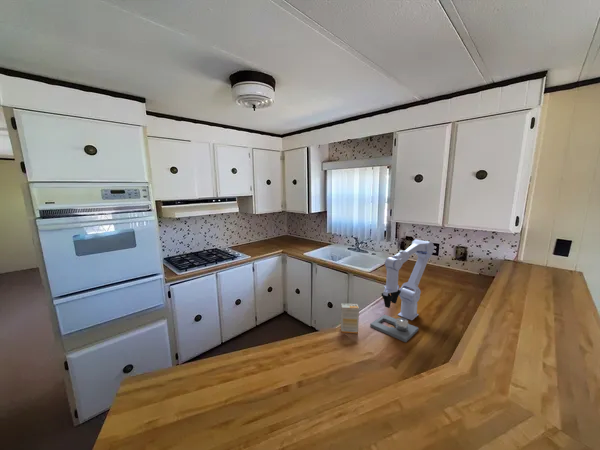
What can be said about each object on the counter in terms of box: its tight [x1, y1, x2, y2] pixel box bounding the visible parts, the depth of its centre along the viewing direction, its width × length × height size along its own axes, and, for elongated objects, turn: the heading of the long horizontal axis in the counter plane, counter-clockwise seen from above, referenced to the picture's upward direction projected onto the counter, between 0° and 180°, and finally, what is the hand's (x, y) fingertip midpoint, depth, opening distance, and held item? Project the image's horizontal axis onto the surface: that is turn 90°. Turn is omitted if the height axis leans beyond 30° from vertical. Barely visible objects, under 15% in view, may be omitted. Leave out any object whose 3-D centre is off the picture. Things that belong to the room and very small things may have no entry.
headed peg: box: [395, 317, 409, 332], centre depth 115 cm, size 5×5×6 cm
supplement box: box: [340, 303, 360, 335], centre depth 114 cm, size 8×5×13 cm, turn 84°
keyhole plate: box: [369, 314, 419, 343], centre depth 118 cm, size 15×18×2 cm
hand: (390, 305), depth 124 cm, fingers open, 7 cm apart
